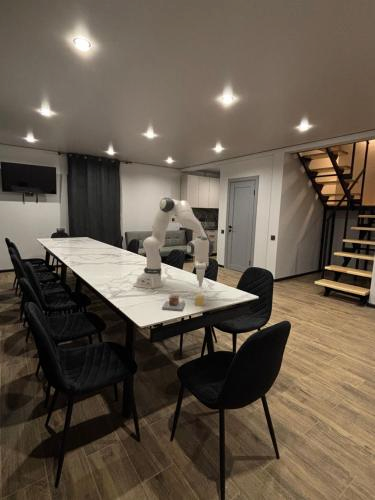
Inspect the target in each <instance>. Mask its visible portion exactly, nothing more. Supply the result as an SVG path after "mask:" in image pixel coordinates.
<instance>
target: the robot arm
mask: <svg viewBox="0 0 375 500" xmlns="http://www.w3.org/2000/svg"><path fill="white" fill-rule="evenodd" d="M193 211H194V210H193V209H192V207H191V204H190V203H189V202H188V201H187V200H184V199H182V200H178V199H174V198H170V197H163V198H162V199H161V200H160V202H159V209H158V210H157V212H156V215H155V217H154V221H153V224H152V233H151V236H148V237H146V238H145V239H144V240H143V241H142V246H143V249H144V250H145V251H144V252H145V256H146V266H145V267H144V268H143V273H141V274H140V275H139V276H138V277H137V278H136V282H134V283H133V287H135V288H141V289H142V288H143V289H150V290H151V289H155V288H161V287H162V286H163V281H162V257H161V255H160V250H161V249H162V248H163V247H164V246H165V244H166V242H165V240H166V234H167V229H168V227H169V225H170V222H171V218H172V216H175V217H177V219H178V222H179V224H180V225H181V227H184V228H185V229H189V230H191V231H193V232H195V233H197V235H198V236H196V237H195V239H194V240H191V241H189V242H187V243H186V247H185V248H186V249H185V251H186V253H187V255H189V256H193V257H194V259H193V260H194V262H193V265H194V267H195V273H196V281H197V282H198V287H200V288H201V287H202V286H203V282H204V278H205V273H206V272H205V271H206V269H207V267H209V262H210V261H209V259H210V258H209V256H211V255H212V254H213V252H214V250H215V245H214V243H213V241H211V239H210V237H209V235H208V234H207V232H206V229H205V227H204V225H203V224H202V222H201V221H200V220H198V218H197V217H196V216H195V215H194V212H193Z"/></svg>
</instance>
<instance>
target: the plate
mask: <svg viewBox="0 0 375 500" xmlns="http://www.w3.org/2000/svg"><path fill="white" fill-rule="evenodd" d="M185 303H186V302H185V301H184V302H179V304H178V306H169V301H167V300H166V301H164V304H163V305H162V307H161V310H163V311H164V310H165V311H167V310H168V311H179V312H182V311H183V309H184V307H185Z"/></svg>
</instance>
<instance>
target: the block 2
mask: <svg viewBox="0 0 375 500" xmlns="http://www.w3.org/2000/svg"><path fill="white" fill-rule="evenodd" d="M204 297H205V296H204V295H195V297H194V299H195V300H194V306H198V307H203V306H204Z"/></svg>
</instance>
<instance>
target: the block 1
mask: <svg viewBox="0 0 375 500" xmlns="http://www.w3.org/2000/svg"><path fill="white" fill-rule="evenodd" d="M168 299H169V306H178V304H179V299H180V296H179V295H172V294H171V295H170V296H169V298H168Z"/></svg>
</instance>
